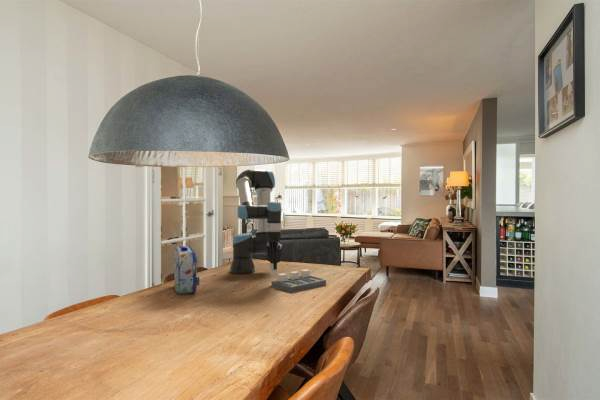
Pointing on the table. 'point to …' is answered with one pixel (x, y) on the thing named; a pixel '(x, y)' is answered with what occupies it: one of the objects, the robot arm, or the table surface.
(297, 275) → the switch middle
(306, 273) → the switch
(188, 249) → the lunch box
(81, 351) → the table surface
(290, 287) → the switch panel
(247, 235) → the robot arm
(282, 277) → the switch
